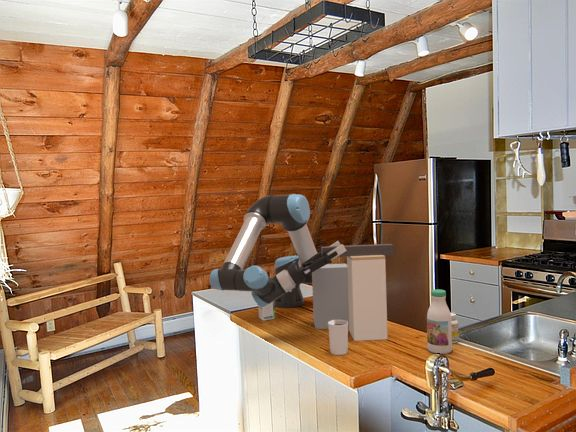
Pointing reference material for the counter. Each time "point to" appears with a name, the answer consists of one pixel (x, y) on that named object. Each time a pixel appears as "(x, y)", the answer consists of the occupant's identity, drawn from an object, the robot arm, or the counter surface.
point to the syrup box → (267, 311)
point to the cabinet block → (367, 297)
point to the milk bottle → (439, 324)
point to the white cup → (338, 336)
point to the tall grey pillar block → (330, 295)
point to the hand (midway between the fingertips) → (342, 245)
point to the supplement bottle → (454, 328)
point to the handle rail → (362, 250)
